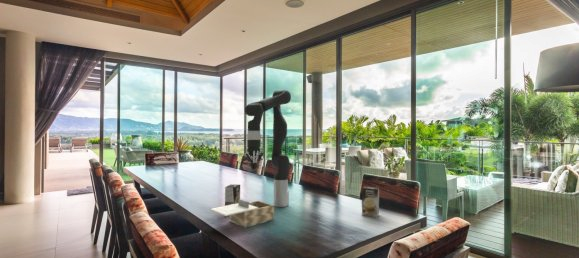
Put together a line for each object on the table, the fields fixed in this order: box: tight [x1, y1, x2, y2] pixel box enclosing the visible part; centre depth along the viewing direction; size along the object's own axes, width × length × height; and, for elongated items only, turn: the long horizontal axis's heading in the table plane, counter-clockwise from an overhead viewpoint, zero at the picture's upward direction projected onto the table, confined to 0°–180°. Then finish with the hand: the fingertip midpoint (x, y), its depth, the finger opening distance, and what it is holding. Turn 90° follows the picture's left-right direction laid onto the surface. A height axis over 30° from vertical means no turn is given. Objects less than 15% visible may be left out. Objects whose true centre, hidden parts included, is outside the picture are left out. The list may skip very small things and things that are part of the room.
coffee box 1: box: [224, 184, 241, 206], centre depth 175 cm, size 9×6×16 cm
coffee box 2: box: [361, 185, 380, 218], centre depth 173 cm, size 9×6×16 cm
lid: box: [210, 198, 258, 217], centre depth 153 cm, size 20×15×4 cm
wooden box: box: [229, 200, 275, 228], centre depth 161 cm, size 19×14×8 cm
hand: (253, 169), depth 167 cm, fingers closed
